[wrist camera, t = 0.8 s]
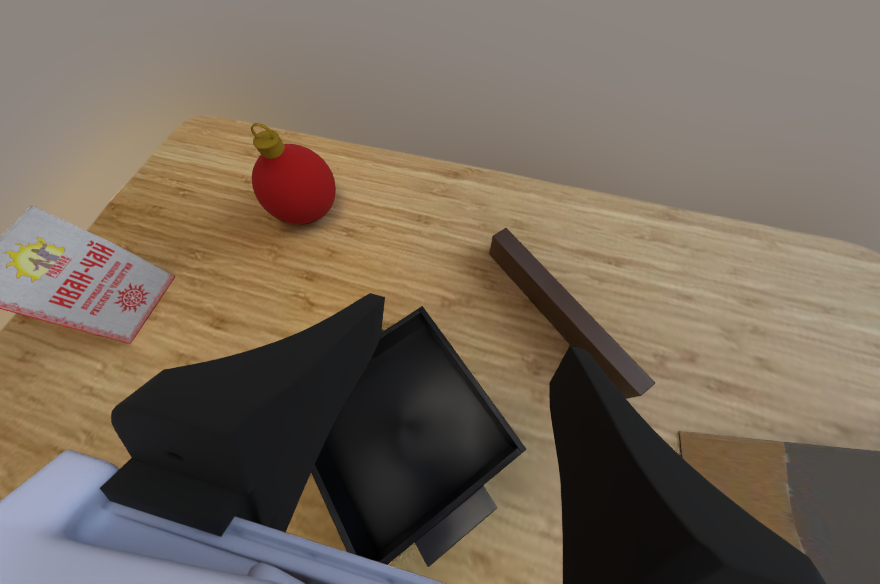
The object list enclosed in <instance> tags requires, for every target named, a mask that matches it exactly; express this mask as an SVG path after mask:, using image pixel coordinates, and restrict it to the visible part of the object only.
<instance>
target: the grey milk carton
mask: <svg viewBox="0 0 880 584" xmlns="http://www.w3.org/2000/svg"><path fill="white" fill-rule="evenodd" d="M173 279H174V276H172V275H171V274H169V273H167V272H165V271H163V270H161V269H160V268H158V267H156V266H154V265H152V264H150V263H149V262H147V261H145V260H143V259H141V258H139V257H138V256H136V255H134V254H132V253H130V252H128V251H127V250H125V249H123V248H121V247H119V246H117V245H116V244H114V243H112V242H109V241H107V240H105V239H103V238H101V237H99V236H96V235H94V234H92V233H90V232H88V231H86V230H84V229H81V228H79V227H77V226H75V225H73V224H71V223H68V222H66V221H64V220H62V219H60V218H58V217H56V216H54V215H52V214H49V213H47V212H45V211H44V210H42V209H39V208H37V207H35V206H34V207H33V206H31V205H30V206H29V207H28V208H27V209H26V210H25V212H24V213H23V214H21V216H20V217H19V218H18V219H17V220H16V221H15V222H14V223H13V224H12V225H11V226H10V227H9V228H8V229H7V230H6V231H5V232H4V233H3V234H2V235H1V236H0V309H3V310H6V311H10V312H14V313H17V314H21V315H25V316H28V317H32V318H36V319H39V320H43V321H47V322H50V323H54V324H58V325H62V326H65V327H69V328H73V329H77V330H80V331H84V332H88V333H92V334H96V335H99V336H103V337H107V338H111V339H114V340H118V341H122V342H126V343H131V342H132V340H133V339H134V337H135V336H136V334H137V333H138V331H139V330H140V328H141V327H142V325H143V324H144V322H145V321H146V319H147V318H148V316H149V315H150V313H151V312H152V310H153V309H154V307H155V306H156V304H157V303H158V301H159V300H160V298H161V297H162V295H163V294H164V292H165V291H166V289H167V288H168V286H169V285H170V283H171V282H172V280H173Z"/></svg>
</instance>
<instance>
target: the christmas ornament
mask: <svg viewBox="0 0 880 584" xmlns="http://www.w3.org/2000/svg"><path fill="white" fill-rule="evenodd" d="M254 126H260V127H263V128H265V129H266V131H262V132H260V133H258V134H256V133H255V132H254V130H253V127H254ZM251 131H252V133H253V134H254V136H255V138H254V140H253V144H254V146H255V147H256V148H257V149H258V151H259V152H260V154H261V156H260V157H259V158H258V159H257V161H256V163H255V165H254V168H253V171H252V185H253V190H254V193H255V195H256V197H257V199H258V201H259V203H260V204H261V205H262V207H263V208H264V209H265V210H266V211H267V212H268V213H270V214H271V215H272V216H274V217H276V218H277V219H279V220H281V221H284V222H287V223H291V224H307V223H311V222H314V221H316V220H318V219H320V218H321V217H323V216H324V215H325V214H326V213H327V212H328V211H329V209H330V208H331V206H332V204H333V202H334V198H335V191H336V187H335V181H334V177H333V174H332V172H331V170H330V168H329V167H328V165H327V164H326V162H325V161H324V160H323V159H322V158H321V157H320V156H319V155H317V154H316V153H315V152H313V151H312V150H310V149H308V148H306V147H303V146H300V145H295V144H283V142H282V141H281V139H280V137H279V135H278V133H276V132H275V131H272V130H270V129H269V128H268V127H267V126H265V125H263V124H260V123H255V124H253V125H252V127H251Z"/></svg>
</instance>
